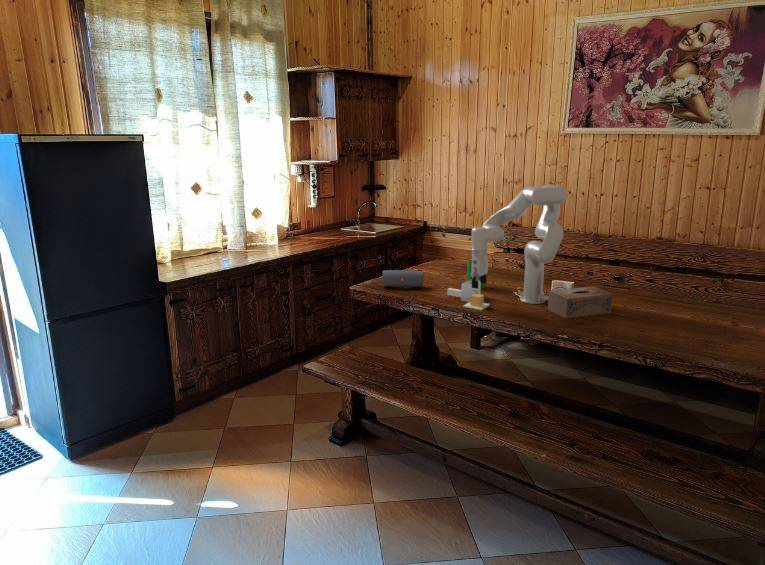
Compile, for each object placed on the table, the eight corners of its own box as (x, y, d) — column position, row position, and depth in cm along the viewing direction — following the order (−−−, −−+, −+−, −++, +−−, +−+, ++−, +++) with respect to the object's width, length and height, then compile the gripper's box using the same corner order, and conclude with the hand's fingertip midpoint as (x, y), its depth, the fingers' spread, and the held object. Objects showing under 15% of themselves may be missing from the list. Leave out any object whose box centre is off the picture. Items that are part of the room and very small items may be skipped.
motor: (484, 285, 315) (485, 251, 310) (485, 289, 307) (487, 254, 301) (466, 284, 316) (467, 250, 311) (467, 289, 308) (468, 254, 302)
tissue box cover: (591, 305, 279) (593, 286, 276) (610, 313, 266) (613, 293, 263) (547, 309, 271) (549, 290, 269) (565, 318, 258) (567, 298, 255)
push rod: (474, 298, 290) (474, 292, 289) (472, 299, 288) (472, 293, 287) (449, 294, 298) (449, 288, 297) (447, 295, 296) (447, 289, 295)
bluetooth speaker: (381, 289, 308) (381, 271, 305) (383, 284, 317) (383, 268, 314) (422, 290, 305) (422, 273, 303) (423, 285, 314) (423, 269, 312)
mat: (489, 305, 278) (489, 304, 277) (481, 310, 270) (481, 309, 269) (471, 302, 283) (471, 300, 283) (463, 307, 275) (463, 305, 275)
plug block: (483, 304, 276) (483, 295, 275) (479, 307, 272) (479, 297, 271) (474, 303, 279) (474, 293, 278) (470, 305, 275) (470, 295, 274)
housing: (480, 296, 294) (481, 280, 291) (469, 302, 283) (470, 285, 281) (471, 294, 296) (472, 278, 294) (460, 300, 286) (461, 283, 284)
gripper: (478, 256, 260) (478, 291, 265) (493, 249, 274) (493, 282, 279) (464, 255, 264) (464, 289, 269) (479, 248, 278) (479, 280, 283)
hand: (479, 285), depth 274 cm, fingers open, 9 cm apart
